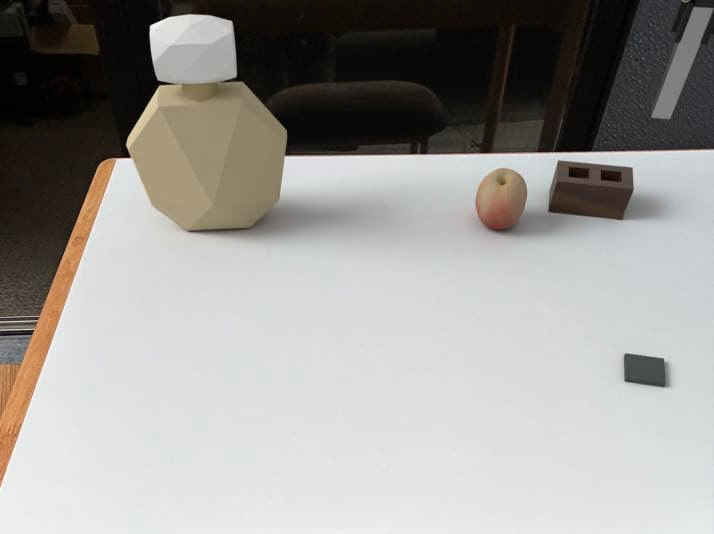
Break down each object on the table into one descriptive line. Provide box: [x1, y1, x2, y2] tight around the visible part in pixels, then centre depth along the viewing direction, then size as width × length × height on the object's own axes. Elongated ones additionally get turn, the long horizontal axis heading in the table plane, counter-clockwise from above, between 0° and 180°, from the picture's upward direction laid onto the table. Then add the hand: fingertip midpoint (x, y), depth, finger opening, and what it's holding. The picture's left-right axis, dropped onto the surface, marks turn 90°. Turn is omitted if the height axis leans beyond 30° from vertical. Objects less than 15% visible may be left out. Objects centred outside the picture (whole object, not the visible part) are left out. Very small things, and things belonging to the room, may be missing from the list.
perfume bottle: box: [125, 13, 288, 231], centre depth 97 cm, size 12×24×28 cm, turn 93°
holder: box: [547, 159, 635, 221], centre depth 107 cm, size 7×12×5 cm, turn 76°
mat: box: [623, 352, 667, 388], centre depth 86 cm, size 5×5×1 cm
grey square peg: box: [650, 0, 714, 120], centre depth 81 cm, size 2×2×14 cm
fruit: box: [474, 167, 528, 230], centre depth 103 cm, size 8×8×8 cm
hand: (689, 38), depth 80 cm, fingers closed on grey square peg, 2 cm apart
